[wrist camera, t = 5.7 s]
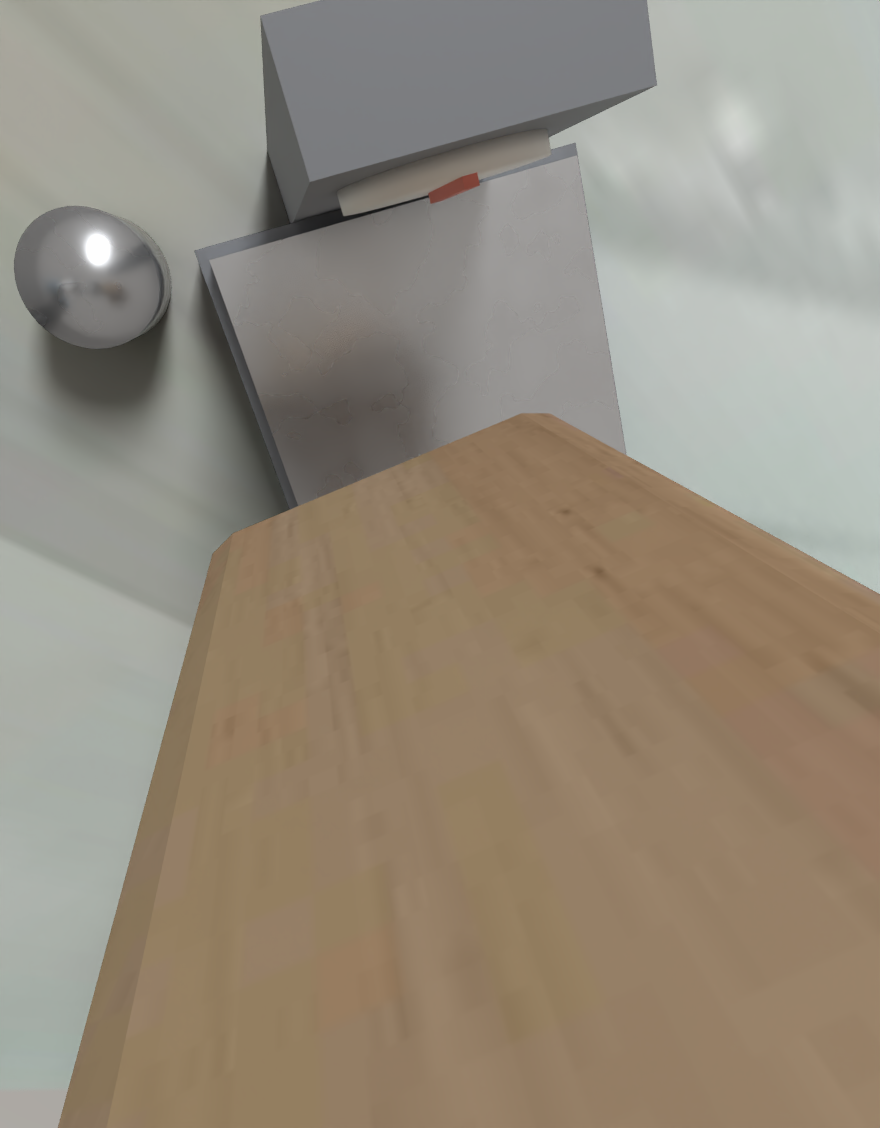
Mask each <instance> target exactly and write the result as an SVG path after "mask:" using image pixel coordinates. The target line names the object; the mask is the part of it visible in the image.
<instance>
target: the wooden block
mask: <svg viewBox="0 0 880 1128" xmlns="http://www.w3.org/2000/svg"><path fill="white" fill-rule="evenodd" d="M58 1128H880V594H878V593H877V592H875V591H873V590H871V589H869V588H867V587H866V586H864V585H862V584H860V583H858V582H857V581H855V580H853V579H851V578H849V577H847V576H846V575H844V574H842V573H840V572H838V571H836V570H835V569H833V568H831V567H829V566H827V565H825V564H824V563H822V562H820V561H818V560H816V559H815V558H813V557H811V556H809V555H807V554H805V553H804V552H802V551H800V550H798V549H796V548H794V547H793V546H791V545H789V544H787V543H785V542H784V541H782V540H780V539H778V538H776V537H774V536H773V535H771V534H769V533H767V532H765V531H763V530H762V529H760V528H758V527H756V526H754V525H753V524H751V523H749V522H747V521H745V520H743V519H742V518H740V517H738V516H736V515H734V514H732V513H731V512H729V511H727V510H725V509H723V508H722V507H720V506H718V505H716V504H714V503H712V502H711V501H709V500H707V499H705V498H703V497H701V496H700V495H698V494H696V493H694V492H692V491H691V490H689V489H687V488H685V487H683V486H681V485H680V484H678V483H676V482H674V481H672V480H670V479H669V478H667V477H665V476H663V475H661V474H659V473H658V472H656V471H654V470H652V469H650V468H649V467H647V466H645V465H643V464H641V463H639V462H638V461H636V460H634V459H632V458H630V457H628V456H627V455H625V454H623V453H621V452H619V451H618V450H616V449H614V448H612V447H610V446H608V445H607V444H605V443H603V442H601V441H599V440H597V439H596V438H594V437H592V436H590V435H588V434H587V433H585V432H583V431H581V430H579V429H577V428H576V427H574V426H572V425H570V424H568V423H566V422H565V421H563V420H561V419H559V418H557V417H556V416H554V415H552V414H550V413H521V414H518V415H516V416H514V417H511V418H509V419H506V420H504V421H502V422H499V423H497V424H494V425H492V426H490V427H487V428H485V429H482V430H480V431H478V432H475V433H473V434H470V435H468V436H466V437H463V438H461V439H458V440H456V441H454V442H451V443H449V444H446V445H444V446H442V447H439V448H437V449H434V450H432V451H430V452H427V453H425V454H422V455H420V456H418V457H415V458H413V459H410V460H408V461H405V462H403V463H401V464H398V465H396V466H393V467H391V468H389V469H386V470H384V471H381V472H379V473H377V474H374V475H372V476H369V477H367V478H365V479H362V480H360V481H357V482H355V483H353V484H350V485H348V486H345V487H343V488H341V489H338V490H336V491H333V492H331V493H329V494H326V495H324V496H321V497H319V498H317V499H314V500H312V501H309V502H307V503H305V504H302V505H300V506H297V507H295V508H293V509H290V510H288V511H285V512H283V513H281V514H278V515H276V516H273V517H271V518H269V519H266V520H264V521H261V522H259V523H256V524H254V525H252V526H249V527H247V528H244V529H242V530H240V531H237V532H235V533H233V534H232V535H231V536H230V537H229V538H228V539H227V540H226V541H225V542H224V543H223V544H222V545H221V546H220V547H219V548H218V549H217V550H216V551H215V552H214V553H213V554H212V558H211V562H210V565H209V569H208V573H207V577H206V580H205V584H204V588H203V591H202V595H201V599H200V602H199V606H198V610H197V614H196V617H195V621H194V625H193V628H192V632H191V636H190V640H189V643H188V647H187V651H186V654H185V658H184V662H183V666H182V669H181V673H180V677H179V680H178V684H177V688H176V691H175V695H174V699H173V703H172V706H171V710H170V714H169V717H168V721H167V725H166V729H165V732H164V736H163V740H162V743H161V747H160V751H159V755H158V758H157V762H156V766H155V769H154V773H153V777H152V780H151V784H150V788H149V792H148V795H147V799H146V803H145V806H144V810H143V814H142V818H141V821H140V825H139V829H138V832H137V836H136V840H135V844H134V847H133V851H132V855H131V858H130V862H129V866H128V869H127V873H126V877H125V881H124V884H123V888H122V892H121V895H120V899H119V903H118V907H117V910H116V914H115V918H114V921H113V925H112V929H111V933H110V936H109V940H108V944H107V947H106V951H105V955H104V958H103V962H102V966H101V970H100V973H99V977H98V981H97V984H96V988H95V992H94V996H93V999H92V1003H91V1007H90V1010H89V1014H88V1018H87V1022H86V1025H85V1029H84V1033H83V1036H82V1040H81V1044H80V1047H79V1051H78V1055H77V1059H76V1062H75V1066H74V1070H73V1073H72V1077H71V1081H70V1085H69V1088H68V1092H67V1096H66V1100H65V1103H64V1107H63V1111H62V1114H61V1118H60V1122H59V1125H58Z"/></svg>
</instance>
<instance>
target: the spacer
mask: <svg viewBox="0 0 880 1128" xmlns="http://www.w3.org/2000/svg"><path fill="white" fill-rule="evenodd" d="M14 273H15V280H16V284H17V288H18V291H19V294H20V296H21V299H22V300H23V302H24V304H25V306H26V308H27V309H28V311H29V312H30V313H31V315H32V316H33V317H34V318H35V319H36V321H37V322H38V323H39V324H40V325H41V326H42V327H44V328H45V329H46V330H47V331H48V332H50V333H51V334H53V335H54V336H56V337H57V338H59V339H61V340H63V341H65V342H68V343H70V344H73V345H76V346H79V347H84V348H91V349H104V348H111V347H115V346H119V345H121V344H124V343H126V342H128V341H130V340H132V339H134V338H136V337H138V336H140V335H142V334H144V333H146V332H148V331H149V330H150V329H152V328H153V327H154V326H155V325H156V324H157V323H158V322H159V321H160V319H161V318H162V317H163V315H164V313H165V311H166V310H167V307H168V304H169V301H170V296H171V276H170V271H169V267H168V264H167V261H166V259H165V257H164V255H163V253H162V251H161V250H160V248H159V246H158V245H157V244H156V243H155V241H154V240H153V239H152V238H151V237H150V236H149V235H148V234H147V233H146V232H145V231H144V230H142V229H141V228H140V227H138V226H137V225H135V224H134V223H132V222H130V221H128V220H126V219H124V218H121V217H118V216H115V215H112V214H109V213H106V212H103V211H100V210H97V209H94V208H89V207H83V206H66V207H61V208H57V209H54V210H51V211H48V212H46V213H45V214H43V215H41V216H39V217H38V218H37V219H35V220H34V221H33V222H32V223H31V224H30V225H29V226H28V227H27V229H26V230H25V231H24V233H23V234H22V236H21V238H20V240H19V242H18V245H17V249H16V252H15V259H14Z"/></svg>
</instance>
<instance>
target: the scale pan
mask: <svg viewBox="0 0 880 1128" xmlns="http://www.w3.org/2000/svg"><path fill="white" fill-rule="evenodd" d="M209 261H210V264H211V267H212V269H213V272H214V275H215V278H216V280H217V283H218V286H219V289H220V291H221V294H222V297H223V300H224V302H225V305H226V308H227V311H228V313H229V316H230V319H231V322H232V324H233V327H234V330H235V333H236V336H237V338H238V341H239V344H240V347H241V349H242V352H243V355H244V358H245V360H246V363H247V366H248V369H249V371H250V374H251V377H252V380H253V382H254V385H255V388H256V391H257V393H258V396H259V399H260V402H261V405H262V407H263V410H264V413H265V416H266V418H267V421H268V424H269V427H270V429H271V432H272V435H273V438H274V440H275V443H276V446H277V449H278V451H279V454H280V457H281V460H282V462H283V465H284V468H285V471H286V474H287V476H288V479H289V482H290V485H291V487H292V490H293V493H294V496H295V498H296V501H297V504H298V506H300V505H302V504H305V503H307V502H309V501H312V500H314V499H317V498H319V497H321V496H324V495H326V494H329V493H331V492H333V491H336V490H338V489H341V488H343V487H345V486H348V485H350V484H353V483H355V482H357V481H360V480H362V479H365V478H367V477H369V476H372V475H374V474H377V473H379V472H381V471H384V470H386V469H389V468H391V467H393V466H396V465H398V464H401V463H403V462H405V461H408V460H410V459H413V458H415V457H418V456H420V455H422V454H425V453H427V452H430V451H432V450H434V449H437V448H439V447H442V446H444V445H446V444H449V443H451V442H454V441H456V440H458V439H461V438H463V437H466V436H468V435H470V434H473V433H475V432H478V431H480V430H482V429H485V428H487V427H490V426H492V425H494V424H497V423H499V422H502V421H504V420H506V419H509V418H511V417H514V416H516V415H518V414H521V413H550V414H552V415H554V416H556V417H557V418H559V419H561V420H563V421H565V422H566V423H568V424H570V425H572V426H574V427H576V428H577V429H579V430H581V431H583V432H585V433H587V434H588V435H590V436H592V437H594V438H596V439H597V440H599V441H601V442H603V443H605V444H607V445H608V446H610V447H612V448H614V449H616V450H618V451H619V452H621V453H623V454H625V455H626V451H625V445H624V439H623V433H622V427H621V420H620V414H619V408H618V402H617V396H616V390H615V384H614V378H613V372H612V365H611V359H610V353H609V347H608V341H607V335H606V329H605V323H604V317H603V310H602V304H601V298H600V292H599V286H598V280H597V274H596V268H595V262H594V255H593V249H592V243H591V237H590V231H589V225H588V219H587V213H586V207H585V200H584V194H583V188H582V182H581V176H580V170H579V164H578V158H577V155H576V156H573V157H569V158H566V159H562V160H559V161H555V162H552V163H548V164H545V165H541V166H538V167H534V168H531V169H527V170H524V171H520V172H517V173H513V174H510V175H506V176H503V177H499V178H496V179H492V180H489V181H485V182H482V183H480V186H477V187H475V188H472V189H470V190H468V191H465V192H463V193H460V194H458V195H455V196H453V197H450V198H448V199H446V200H443V201H440V202H436V203H433V204H431V203H430V199H429V198H426V199H422V200H418V201H415V202H411V203H408V204H404V205H401V206H397V207H394V208H390V209H387V210H383V211H380V212H376V213H373V214H369V215H366V216H362V217H359V218H355V219H352V220H348V221H345V222H341V223H338V224H334V225H331V226H327V227H324V228H320V229H317V230H313V231H310V232H306V233H303V234H299V235H296V236H292V237H289V238H285V239H282V240H278V241H275V242H271V243H268V244H264V245H261V246H257V247H254V248H250V249H247V250H243V251H240V252H236V253H233V254H229V255H226V256H222V257H219V258H215V259H211V260H209Z"/></svg>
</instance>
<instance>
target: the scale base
mask: <svg viewBox="0 0 880 1128" xmlns="http://www.w3.org/2000/svg"><path fill="white" fill-rule="evenodd" d="M260 17H261V37H262V57H263V77H264V97H265V116H266V136H267V151H268V154H269V157H270V161H271V164H272V167H273V170H274V173H275V177H276V180H277V183H278V186H279V189H280V192H281V196H282V199H283V202H284V205H285V208H286V212H287V215H288V218H289V221H290V224H287V225H283V226H280V227H276V228H273V229H269V230H266V231H262V232H259V233H255V234H252V235H248V236H244V237H241V238H237V239H234V240H230V241H227V242H223V243H220V244H216V245H213V246H209V247H206V248H202V249H199V250H195V254H196V257H197V259H198V262H199V265H200V268H201V270H202V273H203V276H204V278H205V281H206V284H207V287H208V289H209V292H210V295H211V297H212V300H213V303H214V306H215V308H216V311H217V314H218V316H219V319H220V322H221V325H222V327H223V330H224V333H225V335H226V338H227V341H228V344H229V346H230V349H231V352H232V355H233V357H234V360H235V363H236V365H237V368H238V371H239V374H240V376H241V379H242V382H243V384H244V387H245V390H246V393H247V395H248V398H249V401H250V403H251V406H252V409H253V412H254V414H255V417H256V420H257V422H258V425H259V428H260V431H261V433H262V436H263V439H264V441H265V444H266V447H267V450H268V452H269V455H270V458H271V460H272V463H273V466H274V469H275V471H276V474H277V477H278V479H279V482H280V485H281V488H282V490H283V493H284V496H285V498H286V501H287V504H288V507H289V509H293V508H295V507H297V506H298V504H297V501H296V498H295V496H294V493H293V490H292V487H291V485H290V482H289V479H288V476H287V474H286V471H285V468H284V465H283V462H282V460H281V457H280V454H279V451H278V449H277V446H276V443H275V440H274V438H273V435H272V432H271V429H270V427H269V424H268V421H267V418H266V416H265V413H264V410H263V407H262V405H261V402H260V399H259V396H258V393H257V391H256V388H255V385H254V382H253V380H252V377H251V374H250V371H249V369H248V366H247V363H246V360H245V358H244V355H243V352H242V349H241V347H240V344H239V341H238V338H237V336H236V333H235V330H234V327H233V324H232V322H231V319H230V316H229V313H228V311H227V308H226V305H225V302H224V300H223V297H222V294H221V291H220V289H219V286H218V283H217V280H216V278H215V275H214V272H213V269H212V267H211V264H210V261H209V260H211V259H215V258H219V257H222V256H226V255H229V254H233V253H236V252H240V251H243V250H247V249H250V248H254V247H257V246H261V245H264V244H268V243H271V242H275V241H278V240H282V239H285V238H289V237H292V236H296V235H299V234H303V233H306V232H310V231H313V230H317V229H320V228H324V227H327V226H331V225H334V224H338V223H341V222H345V221H348V220H352V219H355V218H359V217H362V216H366V215H369V214H373V213H376V212H380V211H383V210H387V209H390V208H394V207H397V206H401V205H404V204H408V203H411V202H415V201H418V200H422V199H426V198H429V199H430V203H431V204H433V203H436V202H440V201H443V200H446V199H448V198H450V197H453V196H455V195H458V194H460V193H463V192H465V191H468V190H470V189H472V188H475V187H477V186H480V183H482V182H485V181H489V180H492V179H496V178H499V177H503V176H506V175H510V174H513V173H517V172H520V171H524V170H527V169H531V168H534V167H538V166H541V165H545V164H548V163H552V162H555V161H559V160H562V159H566V158H569V157H573V156H576V155H577V149H576V143H573V144H569V145H566V146H562V147H559V148H555V149H551V148H550V143H549V137H550V136H552V135H555V134H557V133H559V132H561V131H563V130H565V129H567V128H569V127H571V126H573V125H575V124H577V123H579V122H581V121H584V120H586V119H588V118H590V117H592V116H594V115H596V114H598V113H600V112H602V111H604V110H606V109H608V108H610V107H613V106H615V105H617V104H619V103H621V102H623V101H625V100H627V99H629V98H631V97H633V96H635V95H637V94H639V93H642V92H644V91H646V90H648V89H650V88H652V87H654V86H656V85H657V81H656V73H655V65H654V57H653V48H652V40H651V32H650V23H649V15H648V7H647V0H320V1H316V2H312V3H308V4H304V5H300V6H297V7H293V8H289V9H285V10H281V11H277V12H273V13H269V14H265V15H262V16H260ZM577 158H578V155H577ZM578 164H579V162H578ZM579 170H580V168H579ZM580 176H581V174H580ZM581 182H582V180H581ZM582 188H583V186H582ZM583 194H584V192H583ZM584 200H585V198H584ZM585 207H586V204H585ZM586 213H587V211H586ZM587 219H588V217H587ZM588 225H589V223H588ZM589 231H590V229H589ZM590 237H591V235H590ZM591 243H592V241H591ZM592 249H593V247H592ZM593 255H594V253H593ZM594 262H595V259H594ZM595 268H596V266H595ZM596 274H597V272H596ZM597 280H598V278H597ZM598 286H599V284H598ZM599 292H600V290H599ZM600 298H601V296H600ZM601 304H602V302H601ZM602 310H603V308H602ZM603 317H604V314H603ZM604 323H605V321H604ZM605 329H606V327H605ZM606 335H607V333H606ZM607 341H608V339H607ZM608 347H609V345H608ZM609 353H610V351H609ZM610 359H611V357H610ZM611 365H612V363H611ZM612 372H613V370H612ZM613 378H614V376H613ZM614 384H615V382H614ZM615 390H616V388H615ZM616 396H617V394H616ZM617 402H618V400H617ZM618 408H619V406H618ZM619 414H620V412H619ZM620 420H621V418H620ZM621 427H622V425H621ZM622 433H623V431H622ZM623 439H624V437H623ZM624 445H625V443H624ZM625 451H626V449H625Z"/></svg>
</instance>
